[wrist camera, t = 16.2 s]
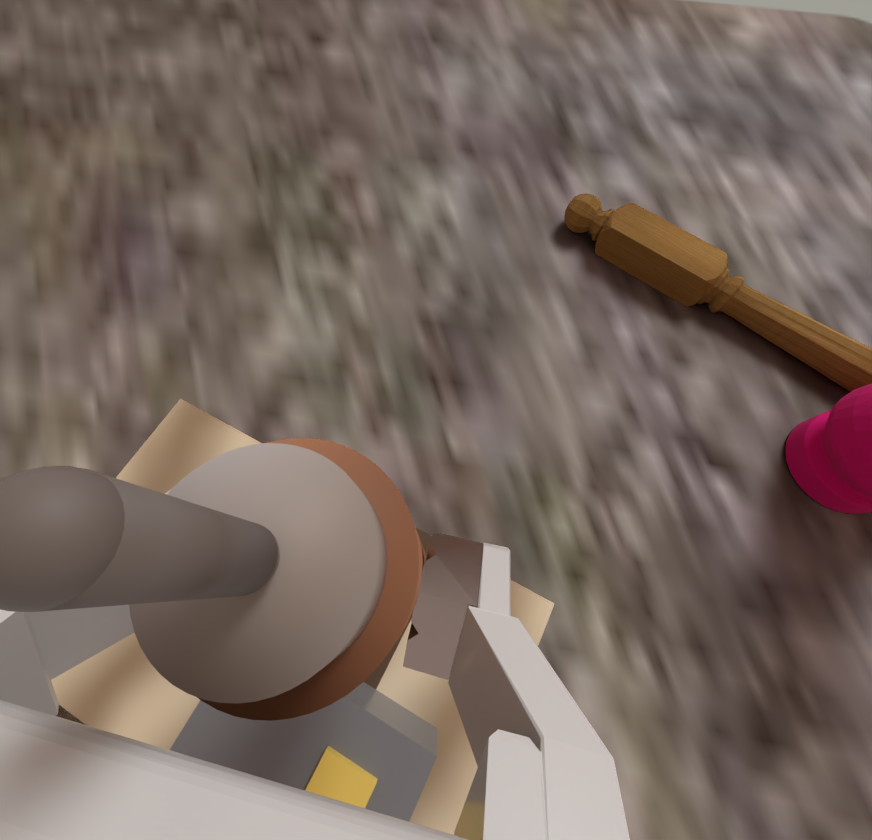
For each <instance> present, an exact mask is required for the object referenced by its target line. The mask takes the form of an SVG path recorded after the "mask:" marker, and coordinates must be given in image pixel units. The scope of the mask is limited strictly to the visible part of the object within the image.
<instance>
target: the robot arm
mask: <svg viewBox="0 0 872 840" xmlns="http://www.w3.org/2000/svg"><path fill="white" fill-rule="evenodd" d="M169 492H170V490H169V491H168V492H167V493H165V494H166V495H167V494H168V493H169ZM411 622H412V624H411V628H410V632H409V636H408V640H407V645H406V651H405V656H404V662H403V667H406V668H409V669H413V670H416V671H419V672H423V673H426V674H429V675H433V676H436V677H439V678H443V679H446V680H449V682H448V684H449V687H450V689H451V692H452V695H453V698H454V701H455V704H456V706H457V709H458V712H459V715H460V718H461V721H462V723H463V726H464V729H465V732H466V735H467V738H468V740H469V743H470V746H471V749H472V752H473V754H474V757H475V760H476V763H477V766H478V768H477V771H476V774H475V776H474V779H473V782H472V785H471V787H470V790H469V793H468V796H467V798H466V801H465V804H464V806H463V809H462V812H461V815H460V817H459V820H458V823H457V825H456V828H455V831H454V835H452V834H449V833H445V832H442V831H439V830H435V829H432V828H429V827H425V826H422V825H419V824H415V823H412V822H409V821H405V820H402V819H399V818H395V817H392V816H389V815H385V814H382V813H379V812H375V811H372V810H368V809H365V808H362V807H358V806H355V805H352V804H348V803H345V802H342V801H338V800H335V799H332V798H328V797H325V796H322V795H318V794H315V793H312V792H308V791H305V790H302V789H298V788H295V787H292V786H288V785H285V784H281V783H278V782H275V781H271V780H268V779H265V778H261V777H258V776H255V775H251V774H248V773H245V772H241V771H238V770H235V769H231V768H228V767H225V766H221V765H218V764H215V763H211V762H208V761H205V760H201V759H198V758H194V757H191V756H188V755H184V754H181V753H178V752H174V751H171V750H168V749H164V748H161V747H158V746H154V745H151V744H148V743H144V742H141V741H138V740H134V739H131V738H128V737H124V736H121V735H117V734H114V733H111V732H107V731H104V730H101V729H97V728H94V727H91V726H87V725H84V724H80V723H77V722H74V721H70V720H67V719H64V718H60V717H57V716H56V715H57V714H58V709H59V702H58V699H57V696H56V693H55V691H54V688H53V685H52V682H51V680H52V679H54V678H56V677H57V676H59V675H61V674H63V673H64V672H66V671H68V670H70V669H71V668H73V667H75V666H77V665H78V664H80V663H82V662H84V661H85V660H87V659H89V658H91V657H92V656H94V655H96V654H98V653H99V652H101V651H103V650H105V649H106V648H108V647H110V646H112V645H113V644H115V643H117V642H119V641H120V640H122V639H124V638H126V637H128V636H129V635H131V634H133V633H135V632H134V629H133V625H132V621H131V617H130V608H129V605H118V606H105V607H92V608H79V609H66V610H53V611H40V612H13V611H5V610H1V609H0V840H630V838H629V833H628V828H627V823H626V818H625V813H624V808H623V803H622V798H621V793H620V788H619V783H618V778H617V773H616V769H615V764H614V759H613V757H612V756H611V754H610V753H609V751H608V750H607V748H606V747H605V745H604V744H603V742H602V741H601V739H600V738H599V736H598V735H597V733H596V732H595V730H594V729H593V727H592V726H591V725H590V723H589V722H588V720H587V719H586V717H585V716H584V714H583V713H582V711H581V710H580V708H579V707H578V705H577V704H576V702H575V701H574V699H573V698H572V696H571V695H570V693H569V692H568V690H567V689H566V688H565V686H564V685H563V683H562V682H561V680H560V679H559V677H558V676H557V674H556V673H555V671H554V670H553V668H552V667H551V665H550V664H549V662H548V661H547V659H546V658H545V656H544V655H543V653H542V652H541V651H540V649H539V648H538V646H537V645H536V643H535V642H534V640H533V639H532V637H531V636H530V634H529V633H528V631H527V630H526V628H525V627H524V625H523V624H522V622H521V621H520V619H519V618H515V617H511V611H510V550H509V549H508V548H507V547H502V546H497V545H493V544H488V543H483V544H482V543H480V542H476V541H472V540H467V539H463V538H459V537H454V536H450V535H446V534H441V533H437V532H433V533H432V536H431V540H430V543H429V548H428V553H427V558H426V561H425V562H424V566H423V570H422V576H421V582H420V587H419V592H418V596H417V600H416V604H415V608H414V610H413V614H412V619H411Z"/></svg>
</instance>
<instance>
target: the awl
mask: <svg viewBox="0 0 872 840" xmlns="http://www.w3.org/2000/svg"><path fill="white" fill-rule="evenodd" d="M426 558H427V556H426V553H425V551H424V548H423V545H422V543H421V540H420V538H419V535H418V533H417V530H416V527H415V525H414V522H413V520H412V517H411V515H410V512H409V510H408V507H407V505H406V503H405V501H404V499H403V497H402V495H401V493H400V492H399V491H398V489H397V488H396V486H395V485H394V483H393V482H392V480H391V479H390V478H389V477H388V476H387V475H386V474H385V473H384V472H383V471H382V470H381V469H380V468H379V467H378V466H377V465H376V464H374V463H373V462H372V461H371V460H369V459H368V458H366V457H365V456H363V455H362V454H360V453H358V452H357V451H355V450H352V449H350V448H348V447H346V446H343V445H340V444H337V443H333V442H330V441H325V440H319V439H311V438H293V439H283V440H278V441H273V442H269V443H265V444H254V445H249V446H245V447H240V448H237V449H234V450H231V451H228V452H225V453H223V454H221V455H218V456H216V457H214V458H212V459H210V460H208V461H207V462H205V463H204V464H202V465H200V466H199V467H197V468H196V469H194V470H193V471H192V472H190V473H189V474H188V475H186V476H185V477H184V478H183V479H182V480H181V481H180V482H179V483H178V484H176V485H175V486H174V487H173V488H172V489H171V490H170V492H169V493H168V494H167V495H166V494H163V493H160V492H157V491H154V490H151V489H148V488H144V487H141V486H138V485H135V484H132V483H129V482H126V481H123V480H120V479H116V478H113V477H110V476H107V475H104V474H101V473H98V472H95V471H91V470H88V469H82V468H76V467H71V466H53V467H41V468H36V469H31V470H27V471H23V472H20V473H17V474H14V475H11V476H8V477H6V478H4V479H2V480H0V609H1V610H5V611H13V612H40V611H53V610H66V609H79V608H92V607H105V606H118V605H129V608H130V617H131V621H132V625H133V629H134V632H135V635H136V637H137V640H138V642H139V645H140V647H141V649H142V650H143V652H144V654H145V655H146V657H147V659H148V660H149V662H150V663H151V664H152V665H153V667H154V668H155V669H156V670H157V671H158V672H159V674H160V675H162V676H163V677H164V678H165V679H166V680H167V681H169V682H170V683H171V684H172V685H174V686H175V687H177V688H179V689H181V690H182V691H184V692H186V693H187V694H190V695H193V696H195V697H197V698H199V699H200V700H201V701H203V702H204V703H206V704H208V705H210V706H211V707H213V708H215V709H216V710H219V711H222V712H224V713H227V714H229V715H232V716H235V717H240V718H245V719H250V720H266V721H274V720H283V719H291V718H295V717H299V716H303V715H306V714H310V713H313V712H315V711H318V710H320V709H322V708H324V707H327V706H329V705H331V704H333V703H334V702H336V701H338V700H339V699H341V698H343V697H344V696H346V695H348V694H349V693H350V692H351V691H353V690H354V689H355V688H356V687H358V686H359V685H360V684H361V683H363V682H364V681H365V680H366V679H367V678H368V677H369V676H370V675H371V674H372V673H373V672H374V671H375V670H376V669H377V668H378V667H379V665H380V664H381V663H382V661H383V660H384V659H385V657H386V656H387V655H388V653H389V652H390V651H391V649H392V648H393V646H394V645H395V643H396V642H397V640H398V639H399V637H400V636H401V634H402V632H403V631H404V629H405V628H406V626H407V625H408V623H409V622H410V620H411V619H412V614H413V610H414V608H415V604H416V600H417V596H418V592H419V587H420V582H421V576H422V570H423V566H424V562H425V561H426Z"/></svg>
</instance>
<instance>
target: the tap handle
mask: <svg viewBox="0 0 872 840" xmlns="http://www.w3.org/2000/svg"><path fill="white" fill-rule="evenodd" d="M565 223H566V226H567V227H568V228H569V229H570V230H571V231H573V232H576V233H583V232H587V231H590V232H591V235H592V240H594V241H595V240H597V241H596V245H595V254H596V255H598V256H599V257H601V258H603V259H605V260H606V261H608V262H610V263H611V264H613V265H615V266H617V267H618V268H620V269H622V270H624V271H625V272H627V273H629V274H630V275H632V276H634V277H636V278H637V279H639V280H641V281H642V282H644V283H646V284H648V285H649V286H651V287H653V288H655V289H656V290H658V291H660V292H661V293H663V294H665V295H667V296H668V297H670V298H672V299H673V300H675V301H677V302H679V303H680V304H682V305H684V306H686V307H690V306H693V305H695V304H696V303H698V304H702V303H708V306H709V309H710V310H711V311H712V312H713V313H715V312H717V311H722V312H724V313H726V314H727V315H729V316H730V317H732V318H734V319H735V320H737V321H738V322H740V323H742V324H743V325H745V326H746V327H748V328H750V329H751V330H753V331H754V332H756V333H757V334H759V335H761V336H762V337H764V338H765V339H767V340H769V341H770V342H772V343H773V344H775V345H777V346H778V347H780V348H781V349H783V350H784V351H786V352H788V353H789V354H791V355H792V356H794V357H796V358H797V359H799V360H800V361H802V362H804V363H805V364H807V365H808V366H810V367H811V368H813V369H815V370H816V371H818V372H819V373H821V374H823V375H824V376H826V377H827V378H829V379H831V380H832V381H834V382H835V383H837V384H838V385H840V386H842V387H843V388H845V389H846V390H848V391H850V392H851V391H853V390H855V389H858V388H861V387H863V386H866V385H869V384H871V383H872V349H871V348H869V347H867V346H865V345H863V344H861V343H859V342H857V341H855V340H853V339H851V338H849V337H847V336H845V335H843V334H841V333H839V332H837V331H835V330H833V329H831V328H829V327H827V326H825V325H823V324H821V323H819V322H817V321H815V320H813V319H811V318H810V317H808V316H806V315H804V314H802V313H800V312H798V311H796V310H794V309H792V308H790V307H788V306H786V305H784V304H782V303H780V302H778V301H776V300H774V299H772V298H770V297H768V296H766V295H764V294H762V293H760V292H758V291H756V290H754V289H752V288H750V287H748V286H746V285H745V284H744V282H743V281H744V278H743V277H741V276H733V277H729V275H728V272H729V269H727V268H726V267H727V263H728V257H727V254H726V253H725V252H723V251H722V250H720V249H718V248H716V247H714V246H712V245H710V244H709V243H707V242H705V241H703V240H701V239H699V238H697V237H696V236H694V235H692V234H690V233H688V232H686V231H684V230H683V229H681V228H679V227H677V226H675V225H673V224H672V223H670V222H668V221H666V220H664V219H662V218H660V217H659V216H657V215H655V214H653V213H651V212H649V211H647V210H646V209H644V208H642V207H640V206H638V205H636V204H634V203H629V204H626V205H624V206H622V207H620V208H618V209H617V210H616V211H615V210H614V209H610V210H607V211H602V206H601V202H600V201H599V199H598V198H597V197H596V196H594V195H591V194H580V195H578V196H576V197H575V198H574V199H573V200H572V201H571V202H570V203H569V205H568V207H567V209H566V212H565Z"/></svg>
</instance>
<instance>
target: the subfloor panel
mask: <svg viewBox="0 0 872 840" xmlns="http://www.w3.org/2000/svg"><path fill="white" fill-rule="evenodd" d="M254 444H262V443H260V442H258V441H257V440H255V439H253V438H251V437H249V436H247V435H246V434H244V433H242V432H240V431H238V430H237V429H235V428H233V427H231V426H229V425H227V424H226V423H224V422H222V421H220V420H218V419H216V418H215V417H213V416H211V415H209V414H207V413H206V412H204V411H202V410H200V409H198V408H196V407H195V406H193V405H191V404H189V403H187V402H185V401H184V400H182V399H180V400H179V401H178V403H177V404H176V405H175V406H174V407H173V409H172V410H171V411H170V412H169V414H168V415H167V416H166V417H165V418H164V420H163V421H162V422H161V423H160V425H159V426H158V427H157V428H156V429H155V431H154V432H153V433H152V434H151V436H150V437H149V438H148V439H147V440H146V442H145V443H144V444H143V445H142V447H141V448H140V449H139V450H138V452H137V453H136V454H135V455H134V456H133V458H132V459H131V460H130V461H129V463H128V464H127V465H126V466H125V467H124V469H123V470H122V471H121V472H120V474H119V475H118V476H117V477H116V479H120V480H123V481H126V482H129V483H132V484H135V485H138V486H141V487H144V488H148V489H151V490H154V491H157V492H160V493H163V494H165V493H167V492H168V491H169V490H171V489H172V488H173V487H174V486H175V485H176V484H178V483H179V482H180V481H181V480H182V479H183V478H184V477H185V476H186V475H188V474H189V473H190V472H192V471H193V470H194V469H196V468H197V467H199V466H200V465H202V464H204V463H205V462H207V461H208V460H210V459H212V458H214V457H216V456H218V455H221V454H223V453H225V452H228V451H231V450H234V449H237V448H240V447H245V446H249V445H254ZM416 530H417V533H418V535H419V538H420V540H421V543H422V545H423V548H424V551H425V553H426V556H427V553H428V548H429V543H430V540H431V536H430V535H428V534H426V533H424V532H423V531H421V530H419V529H417V528H416ZM553 606H554V603H552V602H550V601H548V600H547V599H545V598H543V597H541V596H539V595H538V594H536V593H534V592H532V591H530V590H528V589H527V588H525V587H523V586H521V585H519V584H517V583H516V582H514V581H512V580H510V611H511V617H515V618H519V619H520V621H521V622H522V624H523V625H524V627H525V628H526V630H527V631H528V633H529V634H530V636H531V637H532V639H533V640H534V642H535V643H536V645H537V646H538V645H539V642H540V640H541V637H542V634H543V632H544V629H545V627H546V624H547V622H548V619H549V617H550V614H551V611H552V609H553ZM411 624H412V622H411V620H410V622H409V623H408V625H407V626H406V628H405V629H404V631H403V632H402V634H401V636H400V637H399V639H398V640H397V642H396V643H395V645H394V646H393V648H392V649H391V651H390V652H389V653H388V655H387V656H386V657H385V659H384V660H383V661H382V663H381V664H380V665H379V667H378V668H377V669H376V670H375V671H374V672H373V673H372V674H371V675H370V676H369V677H368V678H367V679H366V680H365V681H364V682H365V683H366V684H368V685H369V686H371V687H373V688H374V689H376V690H377V691H379V692H381V693H382V694H384V695H385V696H387V697H388V698H390V699H392V700H393V701H395V702H396V703H398V704H400V705H401V706H403V707H404V708H406V709H407V710H409V711H411V712H412V713H414V714H415V715H417V716H419V717H420V718H422V719H423V720H425V721H426V722H428V723H430V724H431V725H433V726H434V727H436V728H437V758H436V760H435V763H434V765H433V767H432V770H431V772H430V774H429V777H428V779H427V781H426V784H425V786H424V788H423V791H422V793H421V795H420V798H419V800H418V802H417V805H416V807H415V809H414V812H413V814H412V816H411V819H410V821H409V822H412V823H415V824H419V825H422V826H425V827H429V828H432V829H435V830H439V831H442V832H445V833H449V834H452V835H454V831H455V828H456V825H457V823H458V820H459V817H460V815H461V812H462V809H463V806H464V804H465V801H466V798H467V796H468V793H469V790H470V787H471V785H472V782H473V779H474V776H475V774H476V771H477V768H478V766H477V763H476V760H475V757H474V754H473V752H472V749H471V746H470V743H469V740H468V738H467V735H466V732H465V729H464V726H463V723H462V721H461V718H460V715H459V712H458V709H457V706H456V704H455V701H454V698H453V695H452V692H451V689H450V687H449V684H448V682H449V680H446V679H443V678H439V677H436V676H433V675H429V674H426V673H423V672H419V671H416V670H413V669H409V668H406V667H403V662H404V656H405V651H406V645H407V640H408V636H409V632H410V628H411ZM51 682H52V685H53V688H54V691H55V693H56V696H57V699H58V702H59V705H60V706H62V707H63V708H64V709H66V710H67V711H68V712H70V713H71V714H72V715H73V716H75V717H76V718H77V719H79V720H80V721H81V722H83V723H84V724H85V725H87V726H91V727H94V728H97V729H101V730H104V731H107V732H111V733H114V734H117V735H121V736H124V737H128V738H131V739H134V740H138V741H141V742H144V743H148V744H151V745H154V746H158V747H161V748H164V749H168V750H170V748H171V747H172V745H173V744H174V742H175V740H176V739H177V737H178V735H179V734H180V732H181V731H182V729H183V727H184V726H185V724H186V723H187V721H188V719H189V718H190V716H191V714H192V713H193V711H194V710H195V708H196V706H197V705H198V703H199V702H200V699H199V698H197V697H195V696H193V695H190V694H187V693H186V692H184V691H182V690H181V689H179V688H177V687H175V686H174V685H172V684H171V683H170V682H169V681H167V680H166V679H165V678H164V677H163V676H162V675H160V674H159V672H158V671H157V670H156V669H155V668H154V667H153V665H152V664H151V663H150V662H149V660H148V659H147V657H146V655H145V654H144V652H143V650H142V649H141V647H140V645H139V642H138V640H137V637H136V635H135V633H133V634H131V635H129V636H128V637H126V638H124V639H122V640H120V641H119V642H117V643H115V644H113V645H112V646H110V647H108V648H106V649H105V650H103V651H101V652H99V653H98V654H96V655H94V656H92V657H91V658H89V659H87V660H85V661H84V662H82V663H80V664H78V665H77V666H75V667H73V668H71V669H70V670H68V671H66V672H64V673H63V674H61V675H59V676H57V677H56V678H54V679H52V680H51Z"/></svg>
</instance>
